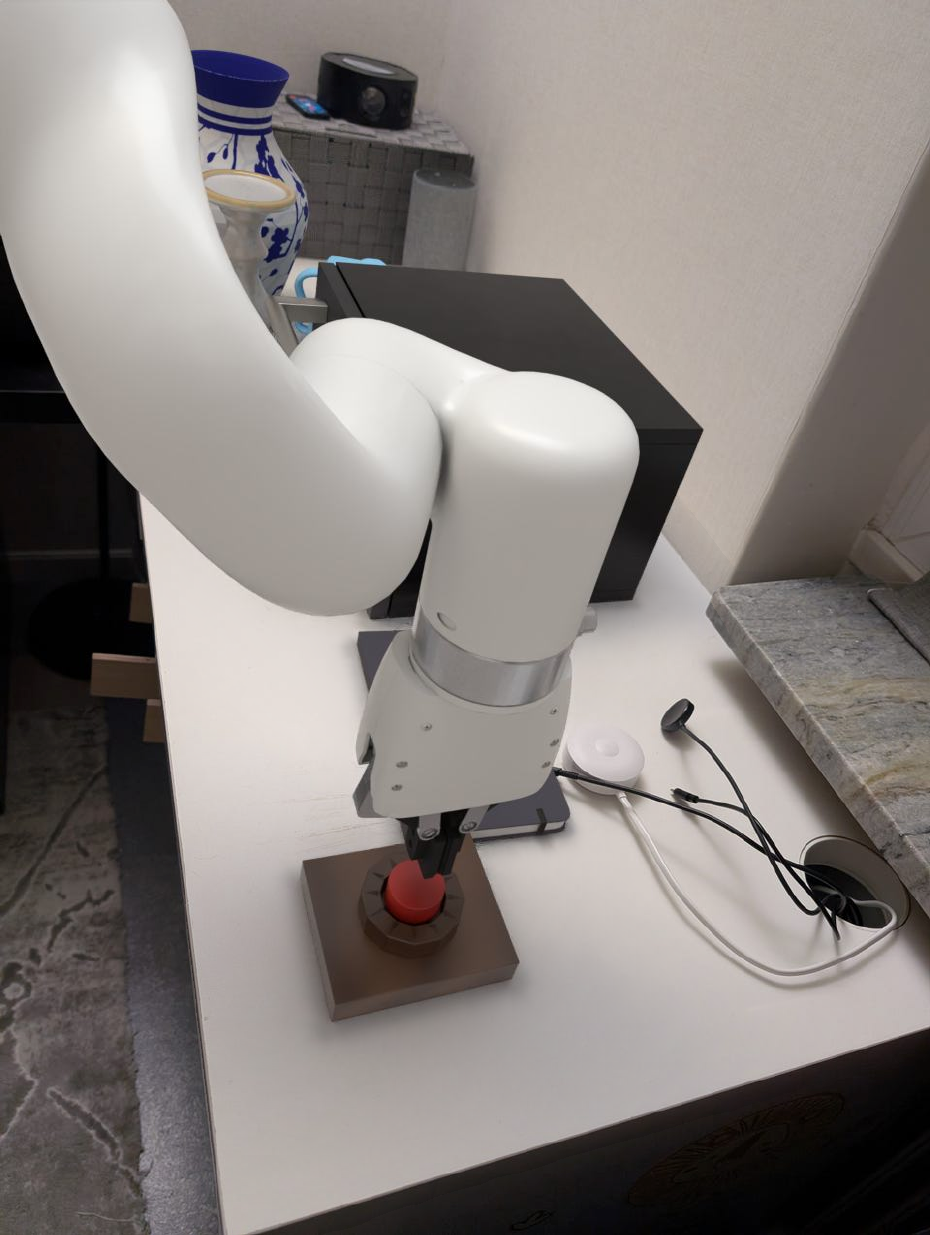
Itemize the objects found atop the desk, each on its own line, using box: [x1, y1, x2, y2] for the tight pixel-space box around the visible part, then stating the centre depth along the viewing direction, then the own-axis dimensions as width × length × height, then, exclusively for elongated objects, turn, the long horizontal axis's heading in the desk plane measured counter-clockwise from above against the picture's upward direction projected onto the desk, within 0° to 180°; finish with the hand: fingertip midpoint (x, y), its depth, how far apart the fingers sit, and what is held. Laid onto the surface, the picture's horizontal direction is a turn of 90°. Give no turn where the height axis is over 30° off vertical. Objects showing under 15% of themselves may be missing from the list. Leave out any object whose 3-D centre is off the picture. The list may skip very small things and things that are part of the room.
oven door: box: [264, 261, 391, 619], centre depth 85 cm, size 8×32×20 cm, turn 19°
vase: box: [190, 49, 310, 296], centre depth 112 cm, size 19×19×30 cm
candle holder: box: [202, 169, 296, 330], centre depth 99 cm, size 11×11×24 cm
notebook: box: [356, 629, 571, 843], centre depth 73 cm, size 13×2×21 cm
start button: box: [385, 859, 445, 924], centre depth 57 cm, size 4×4×2 cm
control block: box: [299, 833, 520, 1022], centre depth 58 cm, size 12×10×4 cm
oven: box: [335, 262, 705, 619], centre depth 91 cm, size 26×32×20 cm
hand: (429, 856), depth 54 cm, fingers closed
